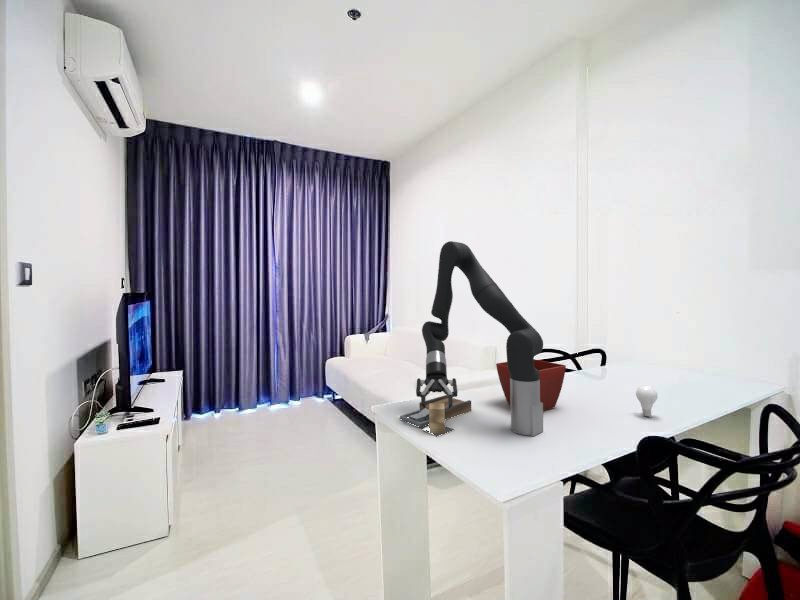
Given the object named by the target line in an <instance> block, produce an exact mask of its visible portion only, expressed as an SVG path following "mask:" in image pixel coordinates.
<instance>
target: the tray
mask: <svg viewBox="0 0 800 600" xmlns="http://www.w3.org/2000/svg"><path fill="white" fill-rule="evenodd" d="M421 411H422V410H420V409H418V410H415V411H412V412H408V413H406V414H405V413H404V414H402V415H399V420H400V419H402V420H404V421H406V422H409V423H411V424H414V425H416V426H419V427H423V426H425V425H428V424H429V418H428V419H427V420H424V421H421V422H417V421H415V420H412V419H410V418H407V417H409V416H411V415H414V414H418V413H419V412H421ZM404 421H403V422H404ZM406 422H405V423H406ZM409 423H408V424H409ZM411 424H410V425H411ZM414 425H413V426H414ZM416 426H415V427H416ZM428 426H429V425H428ZM423 428H424V427H423Z"/></svg>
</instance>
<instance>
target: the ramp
mask: <svg viewBox="0 0 800 600" xmlns="http://www.w3.org/2000/svg"><path fill="white" fill-rule="evenodd" d="M452 399H453V406H451V408H449V404H448V396H447V395H446V394H444V395H442V396H438V397H434V398H432V399H428V400H426V408H427V409H429V404H430V403H444V411H445V419H447V418H450V419H452V418H451V417H453V418H455V417H454V416H456V417H458V416H457V415H459V416H461V415H460V414H462V415H464V414H467V413H470V412H472V400H470V399H469V400H465V401H464V400H461V399H457V398H455V397H453V398H452ZM423 409H424V408H423V406H422V405H421V402H419V410H423ZM469 411H470V412H469ZM466 412H467V413H466ZM463 413H464V414H463ZM447 420H448V419H447Z"/></svg>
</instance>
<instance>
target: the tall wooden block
mask: <svg viewBox="0 0 800 600" xmlns="http://www.w3.org/2000/svg"><path fill="white" fill-rule="evenodd" d="M445 424H446V420H445V411H444V403H430V404H429V425H428V426H429V428H430V433H442V434H443V435H446V434H445V426H446V425H445ZM430 433H429V434H430Z"/></svg>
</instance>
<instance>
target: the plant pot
mask: <svg viewBox="0 0 800 600" xmlns="http://www.w3.org/2000/svg"><path fill="white" fill-rule="evenodd" d="M495 367H496V371H497V376H498V379H499V383H500V386H501V388H502V391H503V394H504V397H505V399H506V401H507V404H508V405H509V406H510V407H511V398H510V372H509V370H508V366H507V361H502V362H498V363H496V364H495ZM534 367H535V369H537V370H538V371H539V373H540V402H542V403H543V411H546V410H551V409H554V408H555V407H556V406H557V402H558V401H559V397H560V394H561V391H562V389H563V388H562V387H563V385H564V379H565V374H566V368H567V366H566V364H561V363H556V362H550V361H545V360H541V359H535V358H534Z"/></svg>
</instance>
